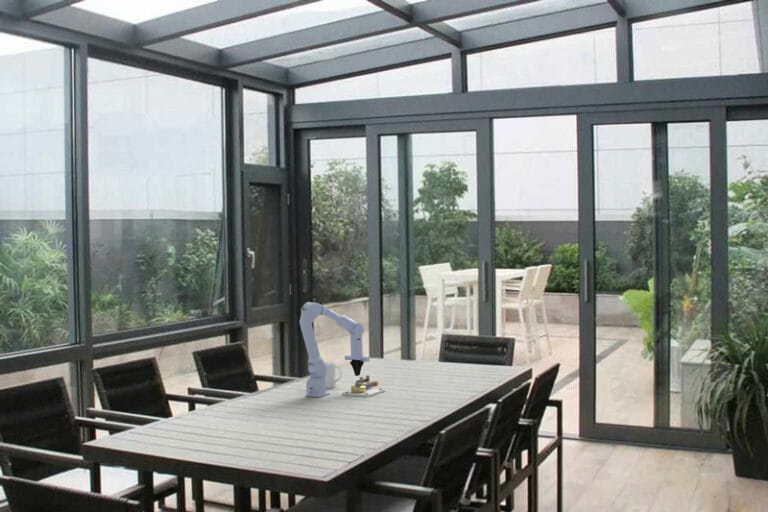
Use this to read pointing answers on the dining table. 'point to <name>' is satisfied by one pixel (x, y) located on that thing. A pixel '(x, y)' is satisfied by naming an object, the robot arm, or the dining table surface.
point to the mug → (331, 374)
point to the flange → (368, 392)
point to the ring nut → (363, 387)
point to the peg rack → (364, 380)
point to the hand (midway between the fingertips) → (357, 375)
